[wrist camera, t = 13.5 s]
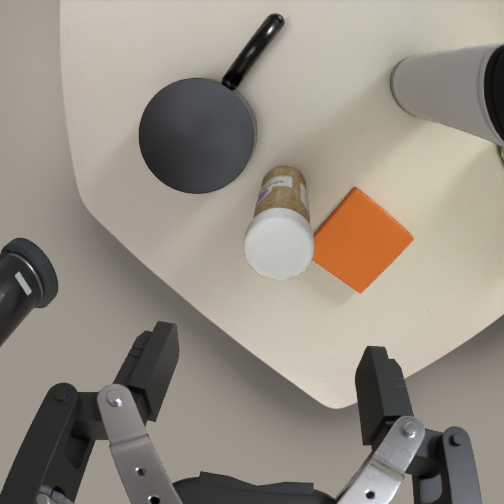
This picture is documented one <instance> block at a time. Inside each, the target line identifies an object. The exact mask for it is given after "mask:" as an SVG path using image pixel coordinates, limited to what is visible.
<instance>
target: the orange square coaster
mask: <svg viewBox="0 0 504 504" xmlns="http://www.w3.org/2000/svg"><path fill="white" fill-rule="evenodd" d="M313 236H314V255H313V258H312V260H313V261H315V262H316V263H318V264H319V265H320V266H322V267H323V268H325V269H326V270H328V271H329V272H330V273H332V274H333V275H335V276H336V277H338V278H339V279H341V280H342V281H343V282H345V283H346V284H348V285H349V286H351V287H352V288H353V289H355V290H356V291H358V292H359V293H362V292H363V291H364V290H365V289H366V288H367V287H368V286H369V285H370V284H371V283H372V282H373V281H374V280H375V279H376V278H377V277H378V276H379V275H380V274H381V273H382V272H383V271H384V270H385V269H386V268H387V267H388V266H389V265H390V264H391V263H392V262H393V261H394V260H395V259H396V258H397V257H398V256H399V255H400V254H401V252H402V251H403V250H404V249H405V248H406V247H407V246H408V245H409V244H410V243H411V242H412V241H413V240H414V238H413V237H412V236H411V235H410V234H409V233H408V232H407V231H406V230H405V229H404V228H403V227H401V226H400V225H399V224H398V223H397V222H396V221H395V220H394V219H392V218H391V217H390V216H389V215H388V214H387V213H386V212H384V211H383V210H382V209H381V208H380V207H379V206H377V205H376V204H375V203H374V202H373V201H372V200H370V199H369V198H368V197H367V196H366V195H364V194H363V193H362V192H361V191H359V190H358V189H357V188H356V187H354V188H353V189H352V191H351V192H350V193H349V194H348V195H347V197H346V198H345V199H344V200H343V201H342V203H341V204H340V205H339V206H338V207H337V208H336V210H335V211H334V212H333V213H332V214H331V215H330V217H329V218H328V219H327V220H326V221H325V222H324V224H323V225H322V226H321V227H320V228H319V229H318V230H317V232H316V233H315V234H314V235H313Z"/></svg>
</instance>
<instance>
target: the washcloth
mask: <svg viewBox="0 0 504 504" xmlns="http://www.w3.org/2000/svg"><path fill="white" fill-rule="evenodd" d="M500 148H501V157H502V158H503V159H504V147H503V146H501V145H500Z"/></svg>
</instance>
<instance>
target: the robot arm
mask: <svg viewBox="0 0 504 504" xmlns="http://www.w3.org/2000/svg"><path fill="white" fill-rule="evenodd" d="M44 295H45V288H44V283H43V280H42V278H41V276H40V274H39V272H38V270H37V269H36V267H35V266H34V265H33V264H32V262H31V261H30V260H29V259H28V258H26V257H25V256H24V255H22V254H20V253H18V252H10V251H9V250H8V249H6V250H5V251H3V252H2V253H1V254H0V347H1V346H2V345H3V343H4V342H5V341H6V340H7V339H8V337H9V336H10V335H11V334H12V333H13V331H14V330H15V329H16V328H17V327H18V326H19V324H20V323H21V322H22V321H23V320H24V319H25V317H26V316H27V315H28V314H29V313H30V312H31V310H33V309H34V308H35V307H36V306H37V305H38V304H39V303H40V302H41V301H42V299H43V298H44ZM178 357H179V343H178V333H177V325H176V324H174V323H168V322H162V321H158V322H157V324H156V326H155V328H154V330H153V332H150V331H144V332H143V333H142V334H141V335H140V336H138V337H137V338H136V340H135V342H134V344H133V346H132V349H130V351H129V353H128V356H127V357H126V359H125V361H124V363H123V365H122V367H121V369H120V371H119V372H118V374H117V376H116V378H115V380H114V382H113V383H112V384H110V385H107V386H105V387H104V388H102V389H101V390H100V391H99V392H77V390H76V388H75V387H74V386H72V385H71V384H68V383H59V384H56V385H54V386H53V387H52V388H50V390H49V391H48V393H47V395H46V397H45V398H44V400H43V402H42V404H41V406H40V408H39V410H38V412H37V414H36V416H35V418H34V420H33V422H32V424H31V426H30V428H29V430H28V432H27V434H26V436H25V438H24V441H23V443H22V445H21V447H20V449H19V451H18V454H17V456H16V458H15V460H14V463H13V465H12V467H11V470H10V472H9V474H8V477H7V479H6V481H5V484H4V487H3V490H2V491H1V494H0V504H75V503H74V502H75V499H76V495H77V492H78V489H79V486H80V483H81V480H82V477H83V474H84V471H85V468H86V465H87V463H88V460H89V457H90V454H91V452H92V448H93V446H94V443H95V441H96V440H109V442H110V445H109V447H110V451H111V454H112V457H113V459H114V462H115V465H116V468H117V470H118V473H119V475H120V477H121V481H122V483H123V485H124V488H125V490H126V493H127V495H128V497H129V499H130V502H131V504H389V503H390V501H391V500H392V498H393V497H394V495H395V493H396V492H397V490H398V489H399V487H400V485H401V484H402V482H403V480H404V476H403V475H404V473H407V474H411V475H412V480H413V495H414V504H482V500H481V493H480V487H479V481H478V475H477V470H476V465H475V460H474V455H473V450H472V446H471V442H470V438H469V435H468V434H467V432H466V431H465V430H463V429H462V428H460V427H450V428H448V429H447V430H446V431H445V432H444V433H442V432H437V431H433V430H429V429H426V428H424V426H423V424H422V422H421V421H420V420H418V419H417V418H415V417H414V415H413V411H412V407H411V403H410V399H409V395H408V392H407V388H406V384H405V381H404V377H403V373H402V370H401V367H400V366H399V365H398V363H397V362H396V361H395V359H388V355H387V351H386V348H385V347H379V346H367V347H366V349H365V351H364V354H363V356H362V358H361V361H360V363H359V365H358V368H357V370H356V375H355V385H356V392H357V399H358V407H359V415H360V422H361V432H362V440H363V445H371V446H372V452H371V453H370V454H369V456H368V457H367V459H366V460H365V461H364V463H363V464H362V466H361V467H360V468H359V469H358V471H357V472H356V473H355V475H354V476H353V477H352V478H351V480H350V481H349V482H348V483H347V485H346V486H345V487H344V488H343V489H342V490H341V491H340V493H339V494H338V495H337V496H336V497H335V498H332V497H331V496H329V495H328V494H326V493H323V492H321V491H318V490H315V489H313V483H299V482H282V483H275V484H268V485H260V486H256V485H252V484H249V483H246V482H243V481H241V480H238V479H235V478H233V477H230V476H226V475H219V474H213V473H208V472H202V471H201V472H200V476H199V477H193V478H187V479H183V480H180V481H177V482H175V483H171V481H170V479H169V477H168V475H167V473H166V471H165V469H164V467H163V465H162V463H161V461H160V459H159V457H158V455H157V453H156V451H155V448H154V446H153V444H152V442H151V439H150V437H149V435H148V433H147V431H146V429H145V426H146V423H147V420H149V421H154V422H156V419H157V416H158V413H159V411H160V408H161V405H162V402H163V400H164V397H165V394H166V392H167V389H168V386H169V383H170V381H171V378H172V375H173V372H174V370H175V367H176V365H177V362H178Z"/></svg>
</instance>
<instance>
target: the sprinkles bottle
mask: <svg viewBox="0 0 504 504" xmlns="http://www.w3.org/2000/svg"><path fill="white" fill-rule="evenodd" d="M261 188H262V189H261V190H260V193H259V197H258V201H257V204H256V207H255V214H254V217H253V220H252V221H251V223H250V224H249V226H248V229H247V232H246V235H245V239H244V245H243V250H244V256H245V258H246V261H247V262H248V264H249V265H250V267H251V268H252V269H253V270H254V271H255V272H257V273H258V274H260V275H261V276H264V277H266V278H269V279H274V280H285V279H290V278H293V277H295V276H297V275H299V274H301V273H302V272H303V271H304V270H305V269H306V268H307V267H308V266H309V265H310V263H311V261H312V258H313V255H314V236H313V231H312V228H311V226H310V215H309V206H308V199H307V193H306V182H305V180H304V178H303V176H302V175H301V174H300V173H299V172H298V171H297V170H295V169H293V168H290V167H278V168H275V169H273V170H271V171H270V172H269V173H267V174H266V176H265V177H264V179H263V181H262V187H261Z"/></svg>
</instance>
